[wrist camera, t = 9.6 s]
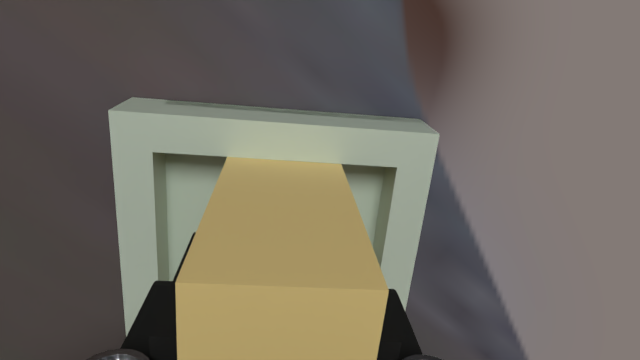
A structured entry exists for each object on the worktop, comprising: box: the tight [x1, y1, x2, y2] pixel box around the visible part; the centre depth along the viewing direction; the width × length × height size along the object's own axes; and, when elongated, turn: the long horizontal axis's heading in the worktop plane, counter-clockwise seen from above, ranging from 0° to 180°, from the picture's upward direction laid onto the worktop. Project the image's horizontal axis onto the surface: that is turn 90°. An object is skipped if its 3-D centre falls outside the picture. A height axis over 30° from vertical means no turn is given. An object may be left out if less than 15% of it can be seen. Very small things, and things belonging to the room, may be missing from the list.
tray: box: [108, 97, 440, 337], centre depth 15 cm, size 16×8×2 cm, turn 175°
